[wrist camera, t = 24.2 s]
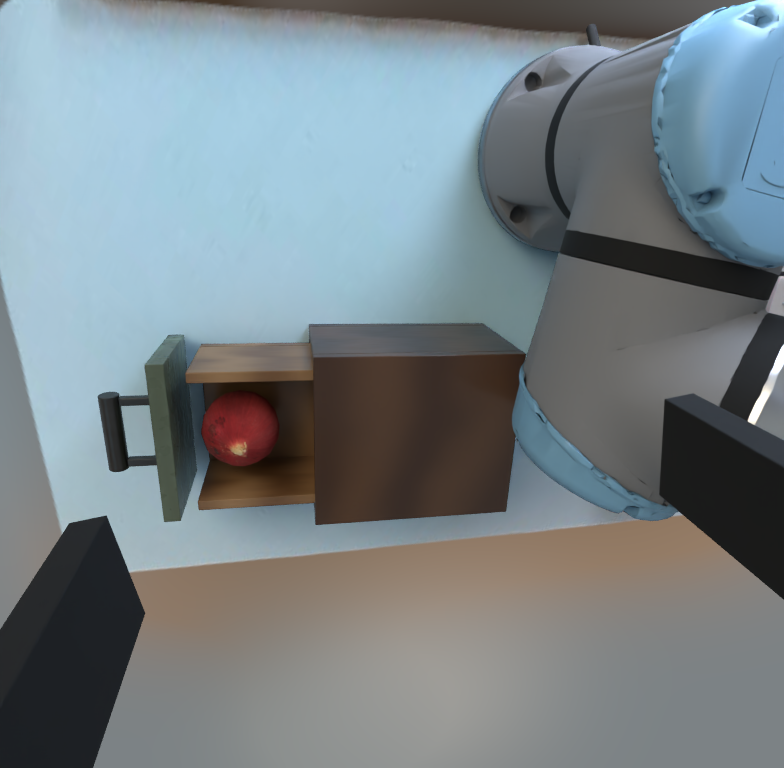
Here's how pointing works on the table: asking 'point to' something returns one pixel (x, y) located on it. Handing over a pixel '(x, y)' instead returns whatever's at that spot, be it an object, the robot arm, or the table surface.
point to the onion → (240, 428)
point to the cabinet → (411, 420)
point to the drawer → (174, 417)
